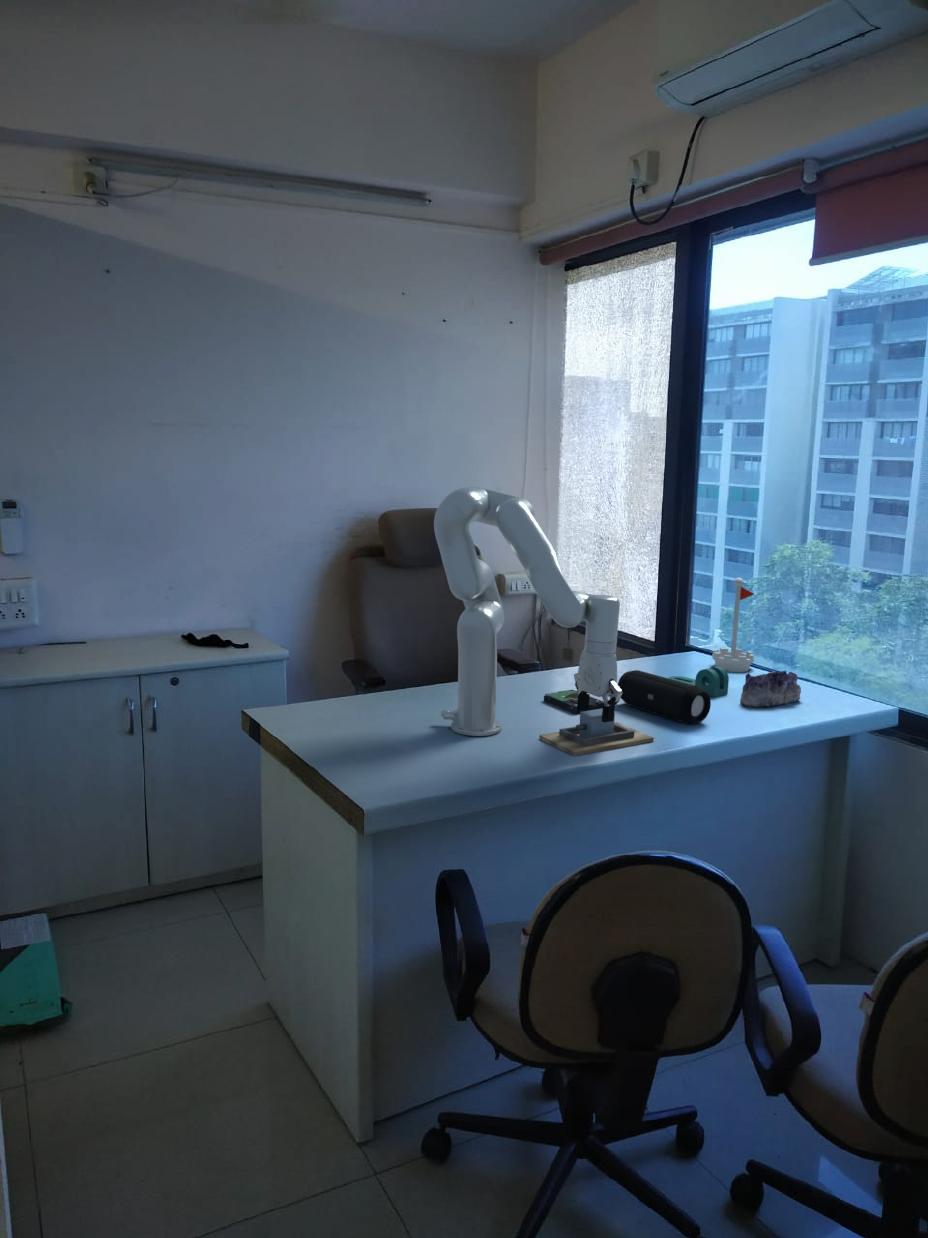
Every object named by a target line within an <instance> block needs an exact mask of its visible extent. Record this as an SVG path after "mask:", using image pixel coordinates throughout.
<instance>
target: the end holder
mask: <svg viewBox="0 0 928 1238" xmlns="http://www.w3.org/2000/svg"><path fill="white" fill-rule="evenodd" d="M654 739H655V738H654V737H653V736H652V735H649V734H646V733H643V732H641V731H640V730H636V729H635V728H632V727H629V726H627V725H624V724H622V723H621V722H617V721H614V733H613V734H608V735H602V736H596V737H590V738H583V737H581V736H579V731H577V730H576V726H571V727H565V728H559V731H556V732H550V733H542V734H539V740H540V741H542V742H545V743H547V744H548V745H551V746H553V747H555V748H557V749H559V750H561V751H562V752H565V753H567V754H569V755H572V756H573V757H575V756H576V757H577V756H581V755H582V756H583V755H587V754H588V755H589V754H593V753H597V752H598V753H599V752H603V751H608V750H609V751H610V750H615V749H620V748H625V747H626V748H627V747H631V746H635V745H637V746H638V745H642V744H647V743H648V744H649V743H653V742H654Z"/></svg>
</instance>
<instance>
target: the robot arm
mask: <svg viewBox="0 0 928 1238" xmlns="http://www.w3.org/2000/svg"><path fill="white" fill-rule="evenodd" d="M475 522H478V523H481V524H485V525H489V526H494V527H496V528H498V531H499V532H500V533H501V534H502V536H503V537H504V539H505V541H506V542H507V544H508V545H509V547H510V548H511V550H512V553H514V555H515V557H517V559H518V561H519V562H520V564H521V566H522V567H523V569H524V571H525V573H526V575H527V578H528V580H529V581H530V584H531V585H532V587H533V589H534V591H535V593H536V594H537V597H538V599H539V600H540V601H541V603H542V604H543V607H544V608H545V609H546V611H547V613H548V614H549V616H550V617H551V619H553V621H554V622H555V623H556V624H558V625H559V626H560V627H563V628H566V629H567V628H568V629H569V628H575V627H577V626H578V625H579V624H581V623H582V622H585V623H586V624H585V633H584V634H585V636H584V647H583V648H584V649H582V651H581V655H580V658H579V662H578V663H579V664H578V669H577V672H576V673H574V674H573V678H574V682H575V683H574V685H575V688H576V691H577V694H578V701H577V710H578V711H584V710H588V709H589V697H591V696H590V695H592V696H594V697H596V698H602V701H603V702H604V704H605V706H603V710H602V722H611V721H613V720H614V713H615V709H616V707H617V705H618V703H619V702H620V699H621V698H620V697H621V695H622V693H623V692H622V690H621V689H620V688H619V686H618V681H617V680H618V661H617V655H616V654H617V643H618V631H619V621H620V620H619V618H620V607H621V606H620V605H621V602H620V599H619V598H617V596H614V595H607V594H591V593H585V592H581V591H579V590H578V591H577V590H572V588H571V587H570V585H569V584H568V582H567V581H566V579H565V577H564V575H563V573H562V570H561V568H560V566H559V562H558V556H557V553H556V551H555V548H554V546H553V544H552V543H551V541H550V540H549V538H548V537H547V536H546V534H545V532H544V531H543V530H542V527H541V526H540V524H539V523H538V522H537V520H536V518H535V510H534V508H533V505H532V504H531V503H530V502H529V501H528V500H527V499H525V498H523V497H519V496H516V495H515V496H514V495H512V494H506V493H503V492H499V491H496V490H491V489H487V488H483V487H479V486H469V487H467V486H466V487H461V488H457V489H455V490H454V491H452V492H450V493H449V494H448V495H446V497H445V498H444V499H443V500H442V501H441V502H440V503H439V505H438V507H437V509H436V511H435V514H434V519H433V528H434V535H435V540H436V544H437V547H438V550H439V553H440V558H441V562H442V565H443V568H444V571H445V575H446V579H447V583H448V587H449V590H450V591H451V593H452V596H454V597H455V598H456V599H457V600H460V601H463V605H464V608H465V609H464V610H463V612H462V613H461V614H460V615H459V618H458V621H457V626H456V636H457V637H456V638H457V650H458V655H457V657H458V659H457V660H458V661H457V662H458V667H457V669H458V670H457V671H458V674H457V676H458V677H457V709H454V710H450V709H441V713H440V714H441V715H440V716H441V718H443V720H451V721H452V722H451V724H450V729H451V730H452V732H455V734H459V735H463V736H469V737H470V736H471V737H484V736H485V737H488V736H492V735H496V734H498V733H500V732H501V731H502V724H501V723H500V722H499V721H497V720H496V713H497V712H496V707H497V678H498V677H497V673H498V668H497V667H498V665H497V663H498V650H497V648H498V647H497V633H498V632H500V630H501V629H502V627H503V626H504V623H505V612H504V606H503V603H502V599H501V596H500V593H499V590H498V586H497V582H496V579H495V576H494V573H493V570H492V569H491V567H490V566H489V564H487V562H485V561H484V560H483V559H480V558H479V557H478V554H477V552H476V547H475V544H474V541H473V538H472V536H471V533H470V530H469V528H470V525H471V523H475Z"/></svg>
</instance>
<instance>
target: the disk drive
mask: <svg viewBox="0 0 928 1238" xmlns="http://www.w3.org/2000/svg"><path fill="white" fill-rule="evenodd" d="M577 701H578V694H577V690H575V689H568V690H560V691H557V692H552V693H551V692H550V693H545V694H544V695H543V702H545V703H547V704H549V705H551V706H555V707H557V708H558V709H561V710H564V711H566V712H568V713H570V714H573V715H580V712H583V711H578V710H577ZM603 706H605V704H604V701H603V700H601V699H598V698H597V697H596V698H595V697H592V696H590V697H589V709H588V710H584V711H590V710H596V709H602V708H603Z"/></svg>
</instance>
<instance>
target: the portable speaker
mask: <svg viewBox="0 0 928 1238" xmlns="http://www.w3.org/2000/svg"><path fill="white" fill-rule="evenodd" d="M668 678H669V677H664V676H662V675H661V676H660V675H657V674H653V673H649V672H646V671H642V670H639V669H638V670H637V669H636V670H635V669H634V670H630V671H626V672H624V673H623V674H622V675H621V676H620V678H619V680H618V681H617V685H618V686H619V688H620V689H621V690H622V692H623V693H622V695H621V697H620V699H621V700H622V701H623V702H624V703H625V704H626V705H628V706H631V707H633V708H637V709H641V710H643V711H647V712H650V713H653V714H656V715H659V716H663V717H666V718H669V719H671V720H675V721H679V722H682V723H686V724H689V725H690V724H697V723H701V722H704V720H705V719H707V717H708V715H709V713H710V711H711V703H712V702H711V697H709V695H708V694H707V693H706V692H705V691H704V690H703V689H701V688H700V687H697V686H694V685H691V684H687V683H683V682H679V681H676V680H672V679H668Z"/></svg>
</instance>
